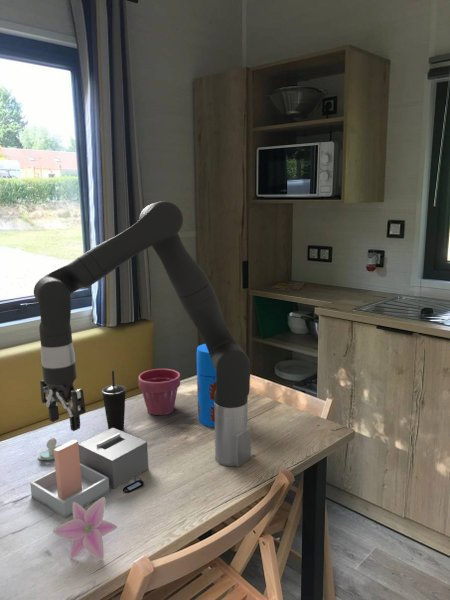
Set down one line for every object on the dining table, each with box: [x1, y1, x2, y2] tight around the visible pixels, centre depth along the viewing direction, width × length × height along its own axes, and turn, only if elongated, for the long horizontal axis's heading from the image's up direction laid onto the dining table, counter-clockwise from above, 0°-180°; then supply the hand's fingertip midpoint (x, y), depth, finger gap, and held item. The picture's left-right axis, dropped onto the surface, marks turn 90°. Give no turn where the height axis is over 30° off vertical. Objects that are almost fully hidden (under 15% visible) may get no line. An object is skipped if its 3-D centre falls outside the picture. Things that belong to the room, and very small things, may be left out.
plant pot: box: [138, 368, 181, 416], centre depth 171 cm, size 14×14×13 cm
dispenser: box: [78, 428, 149, 490], centre depth 135 cm, size 14×12×9 cm
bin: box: [29, 463, 110, 519], centre depth 124 cm, size 14×13×4 cm
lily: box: [52, 496, 118, 561], centre depth 106 cm, size 12×12×10 cm
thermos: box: [196, 343, 216, 428], centre depth 162 cm, size 11×11×25 cm
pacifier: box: [37, 437, 63, 461], centre depth 142 cm, size 7×6×6 cm
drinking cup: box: [101, 369, 127, 432], centre depth 156 cm, size 8×8×20 cm
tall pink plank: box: [54, 439, 82, 500], centre depth 123 cm, size 2×6×13 cm, turn 145°
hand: (64, 424), depth 120 cm, fingers open, 8 cm apart
